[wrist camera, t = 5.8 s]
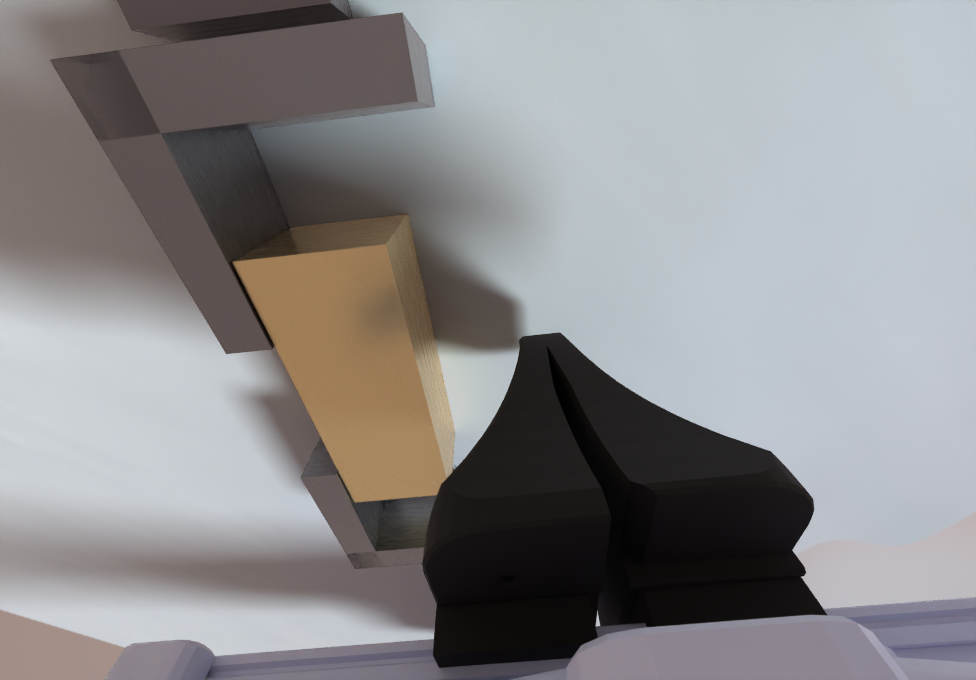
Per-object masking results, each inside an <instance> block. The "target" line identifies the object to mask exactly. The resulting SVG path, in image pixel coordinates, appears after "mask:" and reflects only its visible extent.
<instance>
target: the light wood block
mask: <svg viewBox="0 0 976 680" xmlns="http://www.w3.org/2000/svg"><path fill="white" fill-rule="evenodd" d="M232 263H233V265H234V267H235V269H236V271H237V273H238V275H239V277H240V279H241V281H242V283H243V285H244V287H245V289H246V291H247V293H248V295H249V297H250V299H251V301H252V303H253V304H254V306H255V308H256V310H257V312H258V314H259V316H260V318H261V320H262V322H263V324H264V326H265V328H266V330H267V332H268V334H269V336H270V338H271V340H272V342H273V344H274V346H275V348H276V350H277V352H278V354H279V356H280V358H281V360H282V362H283V364H284V366H285V367H286V369H287V371H288V373H289V375H290V377H291V379H292V381H293V383H294V385H295V387H296V389H297V391H298V393H299V395H300V397H301V399H302V401H303V403H304V405H305V407H306V409H307V411H308V413H309V415H310V417H311V419H312V421H313V423H314V425H315V427H316V428H317V430H318V432H319V434H320V436H321V438H322V440H323V442H324V444H325V446H326V448H327V450H328V452H329V454H330V456H331V458H332V460H333V462H334V464H335V466H336V468H337V470H338V472H339V474H340V476H341V478H342V480H343V482H344V484H345V486H346V488H347V490H348V491H349V493H350V495H351V497H352V499H353V501H354V503H355V502H366V501H377V500H388V499H399V498H410V497H422V496H433V495H437V494H438V491H439V488H440V486H441V484H442V483H443V482H444V481H445V480H446V479H447V477H448V476H449V475H450V474H451V473H452V470H453V455H454V441H455V429H454V425H453V420H452V415H451V411H450V406H449V402H448V397H447V392H446V388H445V383H444V379H443V374H442V369H441V365H440V360H439V356H438V351H437V346H436V342H435V337H434V332H433V328H432V323H431V319H430V314H429V309H428V305H427V300H426V296H425V291H424V286H423V282H422V277H421V273H420V268H419V263H418V259H417V254H416V250H415V245H414V240H413V236H412V231H411V227H410V222H409V217H408V214H403V215H395V216H386V217H377V218H369V219H360V220H351V221H343V222H334V223H325V224H317V225H308V226H299V227H291V228H289V229H287V230H286V231H284V232H282V233H280V234H279V235H277V236H275V237H274V238H272V239H270V240H268V241H267V242H265V243H263V244H262V245H260V246H258V247H256V248H255V249H253V250H251V251H250V252H248V253H246V254H245V255H243V256H241V257H239V258H238V259H236V260H234V261H233V262H232Z"/></svg>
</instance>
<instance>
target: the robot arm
mask: <svg viewBox="0 0 976 680" xmlns="http://www.w3.org/2000/svg"><path fill="white" fill-rule="evenodd" d="M519 344H520V350H519V356H518V361H517V365H516V368H515V372H514V375H513V378H512V380H511V383H510V386H509V388H508V391H507V393H506V395H505V398H504V400H503V402H502V404H501V406H500V408H499V410H498V412H497V413H496V415H495V417H494V418H493V420H492V422H491V423H490V425H489V427H488V428H487V430H486V431H485V433H484V434H483V436H482V437H481V438H480V440H479V441H478V442H477V444H476V445H475V446H474V447H473V449H472V450H471V451H470V453H469V454H468V455H467V457H466V458H465V459H464V460H463V461H462V462H461V463H460V465H459V466H458V467H457V468H456V469H455V470H454V471H453V472H452V473H451V474H450V475H449V476H448V477H447V479H446V480H445V481H444V482H443V483H442V484H441V486H440V488H439V491H438V494H437V496H436V499H435V502H434V505H433V508H432V511H431V515H430V519H429V523H428V527H427V531H426V538H425V545H424V553H423V561H422V564H423V571H424V574H425V577H426V579H427V582H428V584H429V586H430V589H431V591H432V594H433V596H434V598H435V601H436V603H437V609H436V621H435V633H434V639H430V640H417V641H404V642H392V643H379V644H366V645H353V646H340V647H327V648H314V649H301V650H288V651H275V652H262V653H249V654H237V655H224V656H214V654H213V652H212V651H211V650H210V649H209V648H207V647H206V646H205V645H203V644H201V643H198V642H195V641H190V640H172V641H159V642H147V643H134V644H131V645H129V646H127V647H126V648H125V649H124V651H123V652H122V654H121V655H120V657H119V658H118V660H117V661H116V663H115V664H114V666H113V667H112V669H111V670H110V672H109V673H108V675H107V676H106V678H105V679H104V680H976V597H973V598H961V599H948V600H934V601H921V602H909V603H896V604H883V605H870V606H856V607H844V608H831V609H823V608H822V606H821V605H820V603H819V602H818V601H817V599H816V598H815V597H814V595H813V594H812V592H811V591H810V589H809V588H808V586H807V585H806V584H805V582H804V581H803V579H802V578H801V576H804V575H805V573H806V571H805V567H804V566H803V564H802V563H801V562H800V560H799V559H798V558H797V556H796V555H795V554H794V552H793V551H792V549H793V548H794V546H795V545H796V543H797V542H798V540H799V539H800V537H801V535H802V534H803V532H804V531H805V529H806V528H807V526H808V525H809V522H810V520H811V518H812V515H813V512H814V503H813V498H812V497H811V496H810V494H809V493H808V492H807V491H806V489H805V488H804V487H803V486H802V485H801V484H800V482H799V481H798V480H797V479H796V478H795V477H794V476H793V474H792V473H791V472H790V471H789V470H788V469H787V468H786V467H785V465H784V464H783V463H782V462H781V461H780V460H779V459H778V458H777V457H776V456H775V455H774V454H773V453H772V452H771V451H768V450H765V449H762V448H759V447H756V446H753V445H750V444H747V443H744V442H742V441H739V440H736V439H733V438H730V437H727V436H724V435H721V434H719V433H716V432H714V431H711V430H709V429H707V428H704V427H702V426H699V425H697V424H694V423H692V422H690V421H688V420H685V419H683V418H681V417H679V416H677V415H675V414H673V413H671V412H669V411H667V410H665V409H663V408H661V407H659V406H657V405H655V404H653V403H651V402H649V401H648V400H646V399H644V398H642V397H641V396H639V395H637V394H636V393H634V392H633V391H631V390H629V389H628V388H626V387H625V386H623V385H622V384H620V383H619V382H617V381H616V380H614V379H613V378H612V377H610V376H609V375H608V374H606V373H605V372H604V371H602V370H601V369H600V368H599V367H598V366H596V365H595V364H594V363H593V362H592V361H590V360H589V359H588V358H587V357H586V356H585V355H584V354H582V353H581V352H580V351H579V350H578V349H577V348H576V347H575V346H574V345H573V344H572V343H571V342H570V341H569V340H568V339H567V338H566V337H565V336H564V335H562V334H561V333H551V334H542V335H533V336H523V337H522V338H521V339H520V340H519ZM597 610H598V615H599V621H600V626H598V627H595V626H596V617H597Z"/></svg>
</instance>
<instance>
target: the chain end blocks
mask: <svg viewBox="0 0 976 680" xmlns="http://www.w3.org/2000/svg"><path fill="white" fill-rule="evenodd" d="M117 1H118V3H119V5H120V7H121V9H122V11H123V13H124V15H125V17H126V19H127V21H128V23H129V25H130V27H131V29H132V30H133V31H137V32H141V33H145V34H149V35H152V36H156V37H160V38H164V39H168V40H172V41H176V42H179V43H172V44H164V45H157V46H149V47H142V48H134V49H127V50H120V51H112V52H105V53H97V54H90V55H82V56H75V57H67V58H60V59H52V60H50V61H51V63H52V64H53V66H54V68H55V69H56V71H57V73H58V74H59V76H60V78H61V79H62V81H63V83H64V84H65V86H66V88H67V89H68V91H69V93H70V94H71V96H72V98H73V99H74V101H75V103H76V104H77V106H78V108H79V109H80V111H81V113H82V114H83V116H84V118H85V119H86V121H87V123H88V124H89V126H90V128H91V129H92V131H93V133H94V134H95V136H96V138H97V139H98V141H99V143H100V144H101V146H102V148H103V149H104V151H105V153H106V154H107V156H108V158H109V159H110V161H111V163H112V164H113V166H114V168H115V169H116V171H117V173H118V174H119V176H120V178H121V179H122V181H123V183H124V184H125V186H126V188H127V189H128V191H129V193H130V194H131V196H132V198H133V199H134V201H135V203H136V204H137V206H138V208H139V209H140V211H141V213H142V214H143V216H144V218H145V219H146V221H147V223H148V224H149V226H150V228H151V229H152V231H153V233H154V234H155V236H156V238H157V239H158V241H159V243H160V244H161V246H162V248H163V249H164V251H165V253H166V254H167V256H168V258H169V259H170V261H171V263H172V264H173V266H174V268H175V269H176V271H177V273H178V274H179V276H180V278H181V279H182V281H183V283H184V284H185V286H186V288H187V289H188V291H189V293H190V294H191V296H192V298H193V299H194V301H195V303H196V304H197V306H198V308H199V309H200V311H201V313H202V314H203V316H204V318H205V319H206V321H207V323H208V324H209V326H210V328H211V329H212V331H213V333H214V334H215V336H216V338H217V339H218V341H219V343H220V344H221V346H222V348H223V349H224V351H225V353H226V354H231V353H240V352H250V351H260V350H269V349H272V348H273V347H274V344H273V342H272V340H271V338H270V336H269V334H268V332H267V330H266V328H265V326H264V324H263V322H262V320H261V318H260V316H259V314H258V312H257V310H256V308H255V306H254V304H253V303H252V301H251V299H250V297H249V295H248V293H247V291H246V289H245V287H244V285H243V283H242V281H241V279H240V277H239V275H238V273H237V271H236V269H235V267H234V265H233V263H232V262H233V261H234V260H236V259H238V258H239V257H241V256H243V255H245V254H246V253H248V252H250V251H251V250H253V249H255V248H256V247H258V246H260V245H262V244H263V243H265V242H267V241H268V240H270V239H272V238H274V237H275V236H277V235H279V234H280V233H282V232H284V231H286V230H287V229H289V228H288V225H287V223H286V220H285V217H284V215H283V212H282V210H281V207H280V205H279V202H278V200H277V197H276V195H275V192H274V190H273V187H272V185H271V182H270V180H269V177H268V175H267V172H266V170H265V167H264V165H263V162H262V159H261V157H260V154H259V152H258V149H257V147H256V144H255V142H254V139H253V137H252V134H251V132H250V130H251V129H259V128H267V127H275V126H283V125H291V124H299V123H307V122H315V121H323V120H331V119H339V118H347V117H355V116H363V115H371V114H379V113H387V112H395V111H403V110H411V109H419V108H427V107H435V104H434V98H433V91H432V85H431V78H430V72H429V65H428V59H427V52H426V46H425V44H424V43H423V41H422V40H421V38H420V37H419V35H418V34H417V33H416V31H415V30H414V28H413V27H412V25H411V24H410V23H409V21H408V20H407V18H406V17H405V15H404V14H403V13H395V14H388V15H380V16H373V17H366V18H358V19H352V15H351V11H350V7H349V2H348V0H117ZM301 479H302V481H303V483H304V484H305V486H306V488H307V489H308V491H309V493H310V494H311V496H312V498H313V499H314V501H315V503H316V504H317V506H318V508H319V509H320V511H321V513H322V514H323V516H324V518H325V519H326V521H327V523H328V524H329V526H330V528H331V529H332V531H333V533H334V534H335V536H336V538H337V539H338V541H339V543H340V544H341V546H342V548H343V549H344V551H345V553H346V554H347V556H348V558H349V559H350V561H351V563H352V564H353V566H354V568H355V569H360V568H372V567H384V566H397V565H409V564H421V563H422V561H423V553H424V545H425V538H426V531H427V527H428V523H429V519H430V515H431V511H432V508H433V505H434V502H435V499H436V496H437V495H433V496H422V497H410V498H399V499H388V500H377V501H366V502H355V503H354V501H353V499H352V497H351V495H350V493H349V491H348V490H347V488H346V486H345V484H344V482H343V480H342V478H341V476H340V474H339V472H338V470H337V468H336V466H335V464H334V462H333V460H332V458H331V456H330V454H329V452H328V450H327V448H326V446H325V444H324V442H323V440H322V438H320V440H319V442H318V444H317V446H316V448H315V450H314V452H313V454H312V456H311V458H310V460H309V462H308V464H307V466H306V468H305V470H304V472H303V474H302V476H301Z"/></svg>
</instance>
